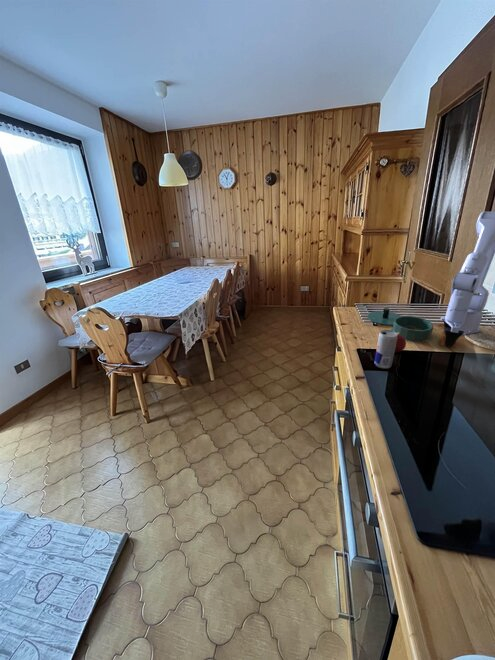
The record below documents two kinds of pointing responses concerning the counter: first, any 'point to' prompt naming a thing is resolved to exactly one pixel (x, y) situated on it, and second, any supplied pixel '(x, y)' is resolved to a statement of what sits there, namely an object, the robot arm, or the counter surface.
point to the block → (444, 340)
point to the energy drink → (385, 349)
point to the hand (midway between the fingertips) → (447, 341)
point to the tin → (413, 322)
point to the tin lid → (383, 317)
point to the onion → (400, 343)
